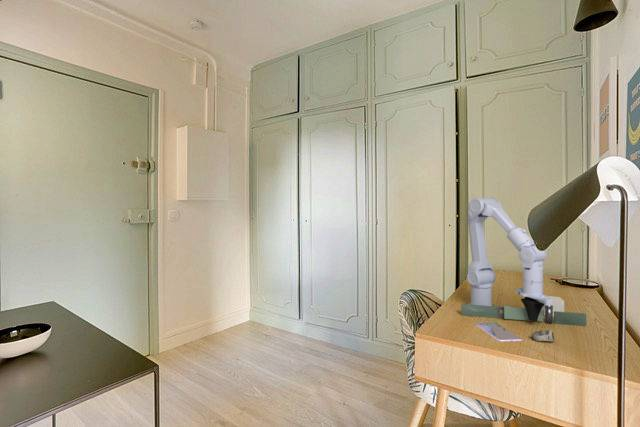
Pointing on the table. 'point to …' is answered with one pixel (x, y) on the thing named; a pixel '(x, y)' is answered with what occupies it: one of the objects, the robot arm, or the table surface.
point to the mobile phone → (498, 332)
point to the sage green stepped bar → (518, 313)
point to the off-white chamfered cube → (556, 304)
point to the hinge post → (564, 317)
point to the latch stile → (482, 311)
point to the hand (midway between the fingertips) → (533, 320)
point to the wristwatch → (543, 335)
